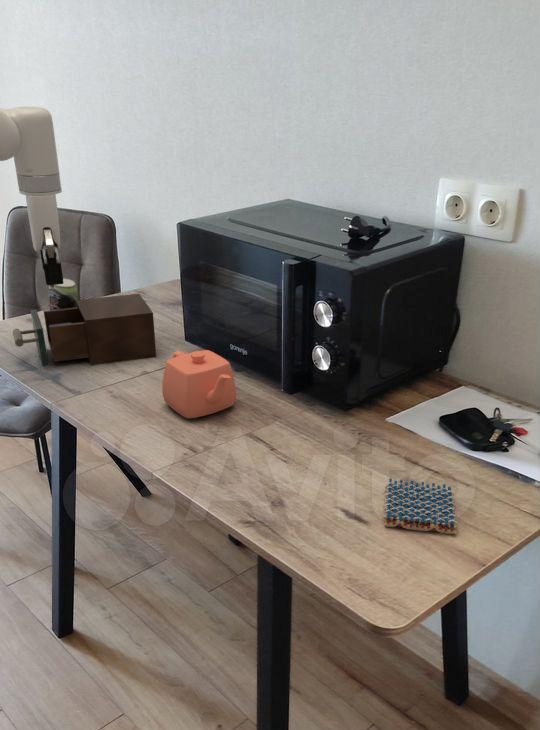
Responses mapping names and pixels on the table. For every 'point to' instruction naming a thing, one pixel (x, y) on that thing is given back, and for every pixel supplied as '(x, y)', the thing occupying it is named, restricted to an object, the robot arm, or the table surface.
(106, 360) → the cabinet
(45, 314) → the drawer
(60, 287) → the beverage can
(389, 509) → the woven mat
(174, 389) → the teapot
